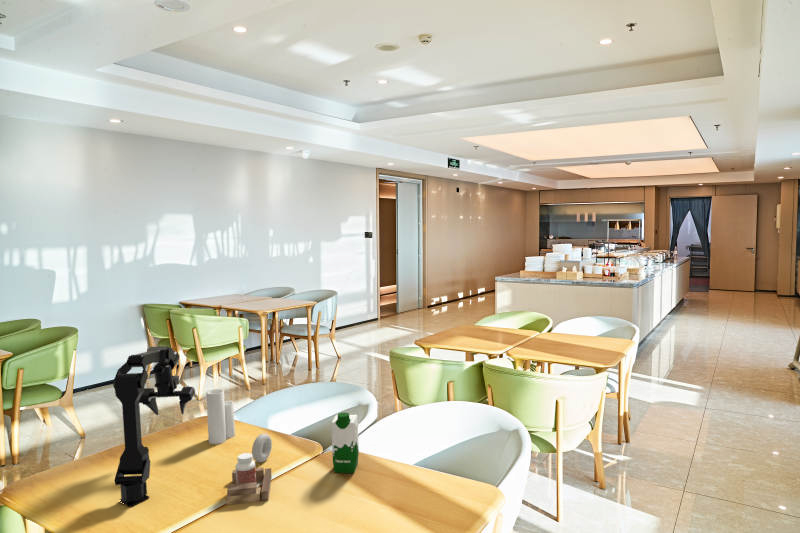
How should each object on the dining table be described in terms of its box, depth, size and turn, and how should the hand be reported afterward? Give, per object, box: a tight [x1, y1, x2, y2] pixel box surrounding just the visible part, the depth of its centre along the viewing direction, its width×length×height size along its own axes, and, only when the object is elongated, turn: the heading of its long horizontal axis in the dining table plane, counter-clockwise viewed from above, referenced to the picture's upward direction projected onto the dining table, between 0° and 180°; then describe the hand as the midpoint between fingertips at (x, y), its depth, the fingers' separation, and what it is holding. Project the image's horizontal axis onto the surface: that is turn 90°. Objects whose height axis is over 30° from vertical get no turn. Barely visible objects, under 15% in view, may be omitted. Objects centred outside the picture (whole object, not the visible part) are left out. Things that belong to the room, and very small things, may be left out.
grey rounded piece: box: [251, 433, 273, 463], centre depth 196 cm, size 10×4×10 cm, turn 161°
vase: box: [205, 388, 236, 445], centre depth 217 cm, size 11×7×20 cm, turn 160°
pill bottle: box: [235, 452, 257, 484], centre depth 175 cm, size 6×6×11 cm
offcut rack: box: [225, 467, 273, 505], centre depth 175 cm, size 12×16×4 cm
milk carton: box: [331, 412, 360, 474], centre depth 188 cm, size 9×9×20 cm
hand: (170, 414), depth 202 cm, fingers open, 9 cm apart
